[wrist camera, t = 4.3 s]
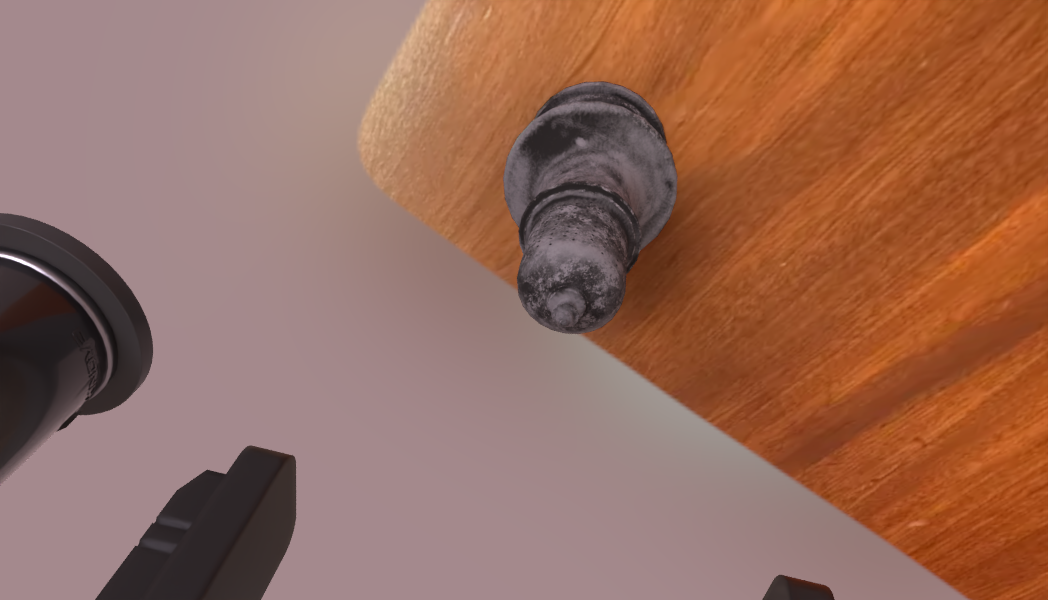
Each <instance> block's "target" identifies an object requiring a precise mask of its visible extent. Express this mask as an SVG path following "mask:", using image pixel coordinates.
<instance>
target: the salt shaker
mask: <svg viewBox="0 0 1048 600" xmlns="http://www.w3.org/2000/svg"><path fill="white" fill-rule="evenodd" d="M503 180H504V191H505V200H506V202H507V205H508V208H509V210H510V213H511V216H512V218H513V220H514V221H515V223H516V224H517V225H518V227H519V242H520V247H521V249H522V252H523V257H522V260H521V263H520V267H519V271H518V276H517V284H518V293H519V297H520V300H521V302H522V305H523V307H524V308H525V309H526V311H527V312H528V313H529V315H530V316H531V317H532V318H533V319H535V320H536V321H537V322H538V323H540V324H541V325H543V326H545V327H547V328H549V329H551V330H554V331H558V332H562V333H568V334H569V333H570V334H581V333H586V332H591V331H594V330H596V329H598V328H600V327H603V326H604V325H605V324H606V323H608V322H609V321H610V320H611V319H613V317H614V316H615V314H616V313H617V311H618V310H619V308H620V306H621V305H622V302H623V298H624V295H625V289H626V274H627V273H628V272H629V271H630V270H631V268H632V267H633V265H634V264H635V262H636V261H637V258H638V255H639V252H640V250H642V249H643V248H644V247H645V246H646V245H647V244H649V243H650V242H651V241H652V240H653V239H654V238H656V237H657V236H658V234H659V233H660V232H661V230H662V229H663V227H664V226H665V224H666V223H667V221H668V220H669V218H670V215H671V212H672V210H673V207H674V204H675V201H676V194H677V173H676V169H675V165H674V161H673V156H672V153H671V152H670V150H669V148H668V146H667V145H666V139H665V135H664V131H663V126H662V124H661V122H660V120H659V118H658V117H657V115H656V113H655V111H654V110H653V108H652V107H651V106H650V105H649V104H648V103H647V102H646V101H645V100H644V99H643V98H642V97H641V96H640V95H638V94H636V93H634V92H633V91H631V90H629V89H627V88H625V87H623V86H620V85H616V84H612V83H608V82H584V83H580V84H577V85H574V86H570V87H567V88H565V89H564V90H562V91H561V92H559V93H557V94H556V95H554V96H552V97H551V98H550V99H549V100H548V101H547V102H546V103H545V104H544V105H543V107H542V108H541V109H540V110H539V111H538V113H537V115H536V117H535V119H534V120H533V121H532V122H531V123H530V124H529V125H528V126H527V127H526V128H525V129H524V130H523V132H522V133H521V134H520V135H519V136H518V137H517V139H516V141H515V143H514V145H513V147H512V149H511V151H510V153H509V155H508V157H507V162H506V167H505V172H504V177H503Z"/></svg>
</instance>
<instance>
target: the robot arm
mask: <svg viewBox="0 0 1048 600" xmlns="http://www.w3.org/2000/svg"><path fill="white" fill-rule="evenodd" d="M117 360H118V353H117V346H116V341H115V338H114V335H113V332H112V330H111V327H110V325H109V323H108V321H107V319H106V318H105V316H104V314H103V313H102V311H101V310H100V308H99V307H98V306H97V304H96V303H95V302H94V301H93V300H92V298H91V297H90V296H89V295H88V294H87V293H86V292H85V291H84V290H83V289H82V288H81V287H80V286H79V285H78V284H77V283H76V282H74V281H73V280H72V279H71V278H69V277H68V276H67V275H66V274H64V273H63V272H61V271H60V270H58V269H57V268H55V267H54V266H52V265H50V264H49V263H47V262H45V261H43V260H41V259H39V258H37V257H34V256H32V255H30V254H27V253H24V252H21V251H18V250H14V249H10V248H4V247H0V485H1V484H3V482H4V481H6V479H8V478H9V477H10V476H11V475H12V474H13V473H14V472H15V471H16V470H17V469H18V468H19V467H20V466H21V465H22V464H23V463H24V462H25V461H26V460H27V459H28V458H29V457H30V456H31V455H32V454H33V453H34V452H35V451H36V450H37V449H39V448H40V447H41V446H42V445H43V444H44V443H45V442H46V441H47V440H48V439H49V438H50V437H51V436H52V435H53V434H54V433H55V432H57V431H59V430H61V429H63V428H66V427H67V426H68V425H69V424H70V423H71V422H72V421H73V420H74V419H75V418H76V417H77V416H78V415H79V414H80V413H81V412H82V411H80V412H78V413H76V412H77V411H78V410H79V409H80V408H81V407H82V406H83V405H84V404H85V403H86V402H87V401H88V400H89V399H91V398H93V397H94V396H96V395H97V394H98V393H99V392H100V391H101V390H102V389H103V388H104V387H105V386H106V385H107V384H108V383H109V382H110V380H111V379H112V377H113V375H114V373H115V370H116V367H117ZM75 413H76V414H75ZM295 520H296V460H295V457H294V456H293V455H288V454H284V453H280V452H276V451H272V450H268V449H263V448H259V447H255V446H247V447H246V448H245V449H244V450H243V451H242V452H241V453H240V455H239V456H238V458H237V459H236V461H235V462H234V464H233V465H232V466H231V468H230V469H229V471H228V472H227V474H222V473H218V472H214V471H210V470H206V471H205V472H203V473H202V474H200V475H199V476H197V477H196V478H195V479H193V480H191V481H190V482H189V483H187V484H186V485H184V486H183V487H181V488H180V489H179V490H177V491H176V493H175V494H174V495H173V496H172V498H171V499H170V500H169V502H168V503H167V504H166V506H165V507H164V508H163V510H162V511H161V512H160V514H159V515H158V516H157V519H156V522H155V523H154V524H153V523H152V525H151V526H150V527H149V529H148V530H147V531H146V532H145V534H144V535H143V537H142V538H141V539H140V542H139V545H138V546H135V547H134V548H133V550H132V551H131V552H130V554H129V555H128V556H127V558H126V559H125V561H124V562H123V563H122V564H121V566H120V567H119V568H118V570H117V571H116V573H115V574H114V575H113V576H112V578H111V579H110V580H109V582H108V583H107V584H106V586H105V587H104V588H103V590H102V591H101V593H100V594H99V595H98V596H97V598H96V599H95V600H261V598H262V597H263V595H264V593H265V591H266V589H267V587H268V585H269V583H270V581H271V579H272V577H273V576H274V574H275V572H276V570H277V568H278V566H279V564H280V562H281V560H282V559H283V557H284V555H285V553H286V550H287V548H288V546H289V543H290V540H291V538H292V534H293V531H294V526H295ZM763 600H834V597H833V594H832V591H831V590H830V588H829V587H827V586H825V585H821V584H817V583H813V582H808V581H805V580H800V579H796V578H792V577H788V576H784V575H778V576H777V577H776V578H775V579H774V580H773V582H772V584H771V585H770V587H769V589H768V591H767V593H766V594H765V596H764V598H763Z"/></svg>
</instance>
